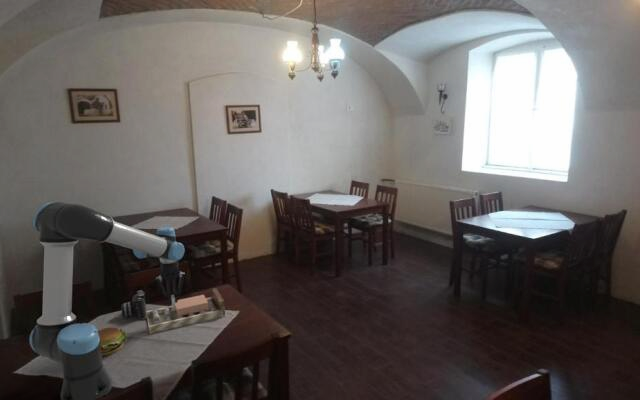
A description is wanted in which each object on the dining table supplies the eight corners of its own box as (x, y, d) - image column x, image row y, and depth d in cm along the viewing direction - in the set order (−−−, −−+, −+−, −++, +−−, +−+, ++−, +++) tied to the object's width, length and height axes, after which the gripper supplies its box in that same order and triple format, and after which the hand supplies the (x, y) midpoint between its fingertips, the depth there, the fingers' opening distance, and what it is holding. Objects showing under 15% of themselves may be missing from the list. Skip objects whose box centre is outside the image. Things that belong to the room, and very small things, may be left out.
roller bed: (149, 333, 179) (147, 317, 178) (147, 317, 194) (145, 302, 193) (225, 315, 193) (223, 300, 192) (217, 302, 208) (216, 288, 206)
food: (91, 363, 159) (88, 344, 157) (87, 346, 170) (84, 329, 169) (129, 351, 166) (127, 333, 165) (123, 336, 178) (121, 319, 176)
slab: (177, 316, 187) (176, 309, 186) (174, 307, 196) (173, 300, 195) (208, 309, 193) (208, 302, 192) (204, 301, 202) (203, 294, 201)
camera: (122, 310, 202) (120, 291, 200) (146, 306, 207) (144, 287, 205) (122, 323, 189) (120, 303, 187) (148, 318, 194) (145, 298, 192)
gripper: (154, 266, 180) (159, 316, 185) (185, 260, 185) (189, 309, 190) (152, 261, 187) (158, 309, 191) (182, 256, 192) (187, 303, 197)
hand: (174, 309), depth 191 cm, fingers closed
